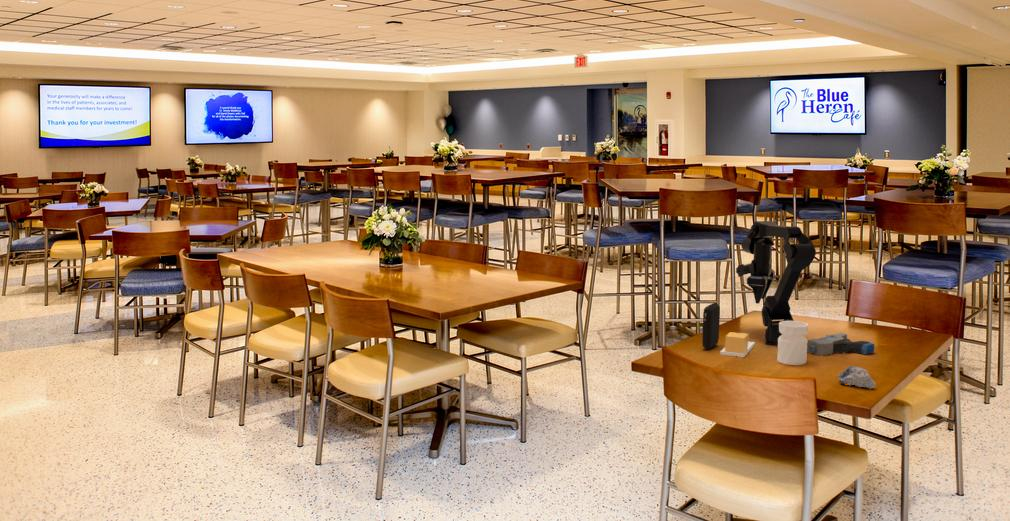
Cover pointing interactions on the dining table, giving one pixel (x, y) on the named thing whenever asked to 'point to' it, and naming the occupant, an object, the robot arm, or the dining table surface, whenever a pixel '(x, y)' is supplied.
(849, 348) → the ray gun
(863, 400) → the dining table surface
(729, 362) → the dining table surface
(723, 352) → the plate
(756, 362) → the dining table surface
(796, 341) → the white plastic jar
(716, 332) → the carrying case or bag
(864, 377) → the mineral specimen
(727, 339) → the tan block
